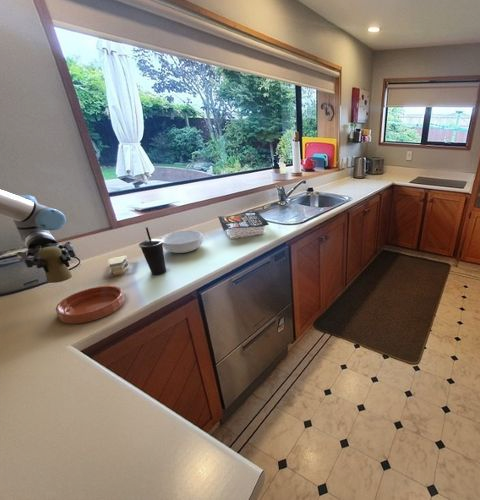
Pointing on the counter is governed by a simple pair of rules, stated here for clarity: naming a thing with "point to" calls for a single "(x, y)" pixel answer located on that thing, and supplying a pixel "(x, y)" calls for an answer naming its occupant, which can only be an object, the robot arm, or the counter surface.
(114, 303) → the dish
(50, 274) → the cork
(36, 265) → the robot arm
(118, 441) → the counter surface
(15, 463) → the counter surface
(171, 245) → the cereal bowl
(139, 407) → the counter surface
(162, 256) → the drinking cup
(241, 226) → the food packaging
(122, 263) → the sandwich
